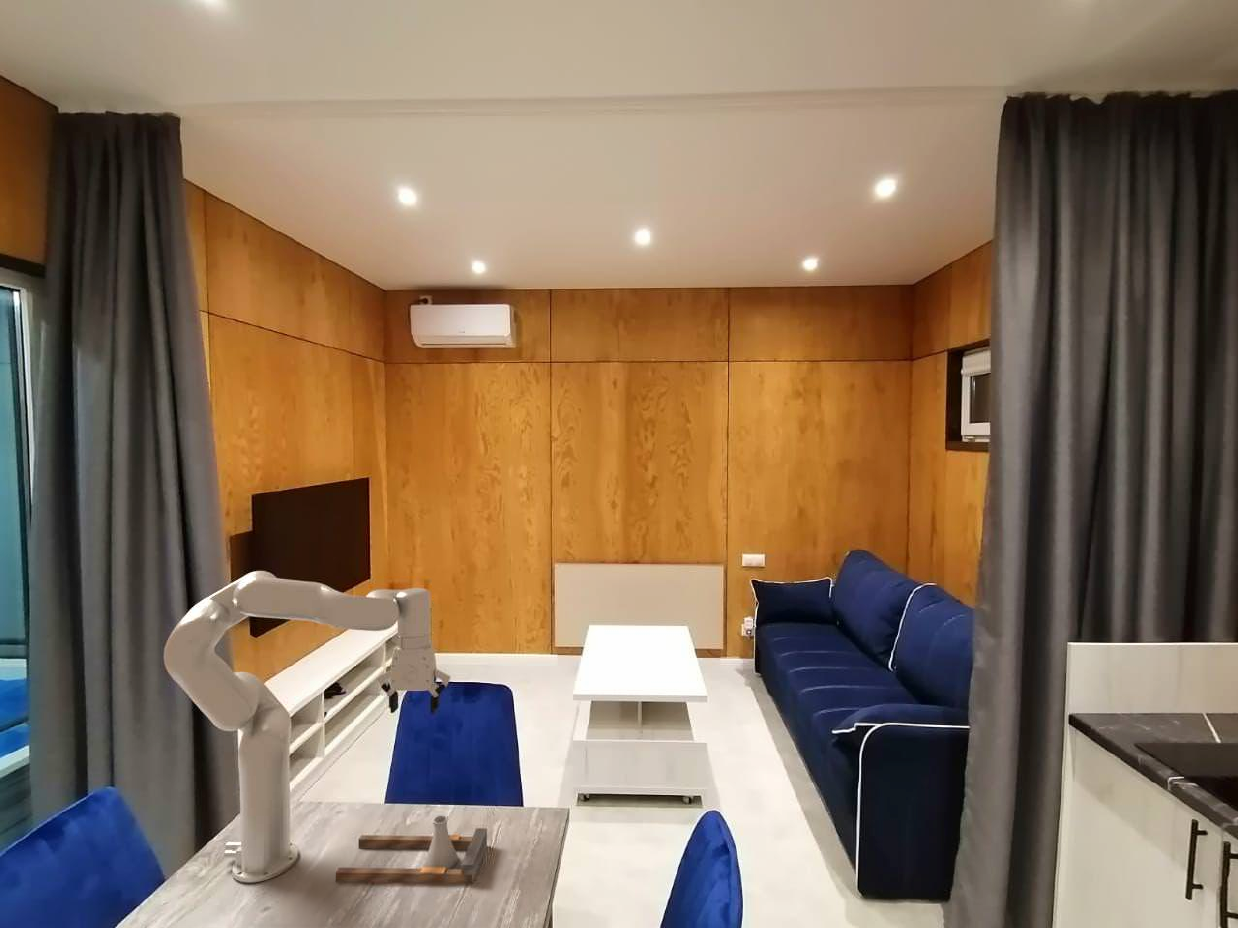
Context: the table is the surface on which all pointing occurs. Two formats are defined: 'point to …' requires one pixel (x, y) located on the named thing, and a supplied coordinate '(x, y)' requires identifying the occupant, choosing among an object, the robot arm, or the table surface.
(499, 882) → the table surface
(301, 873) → the table surface
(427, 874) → the guide channel
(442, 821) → the flask
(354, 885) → the table surface
